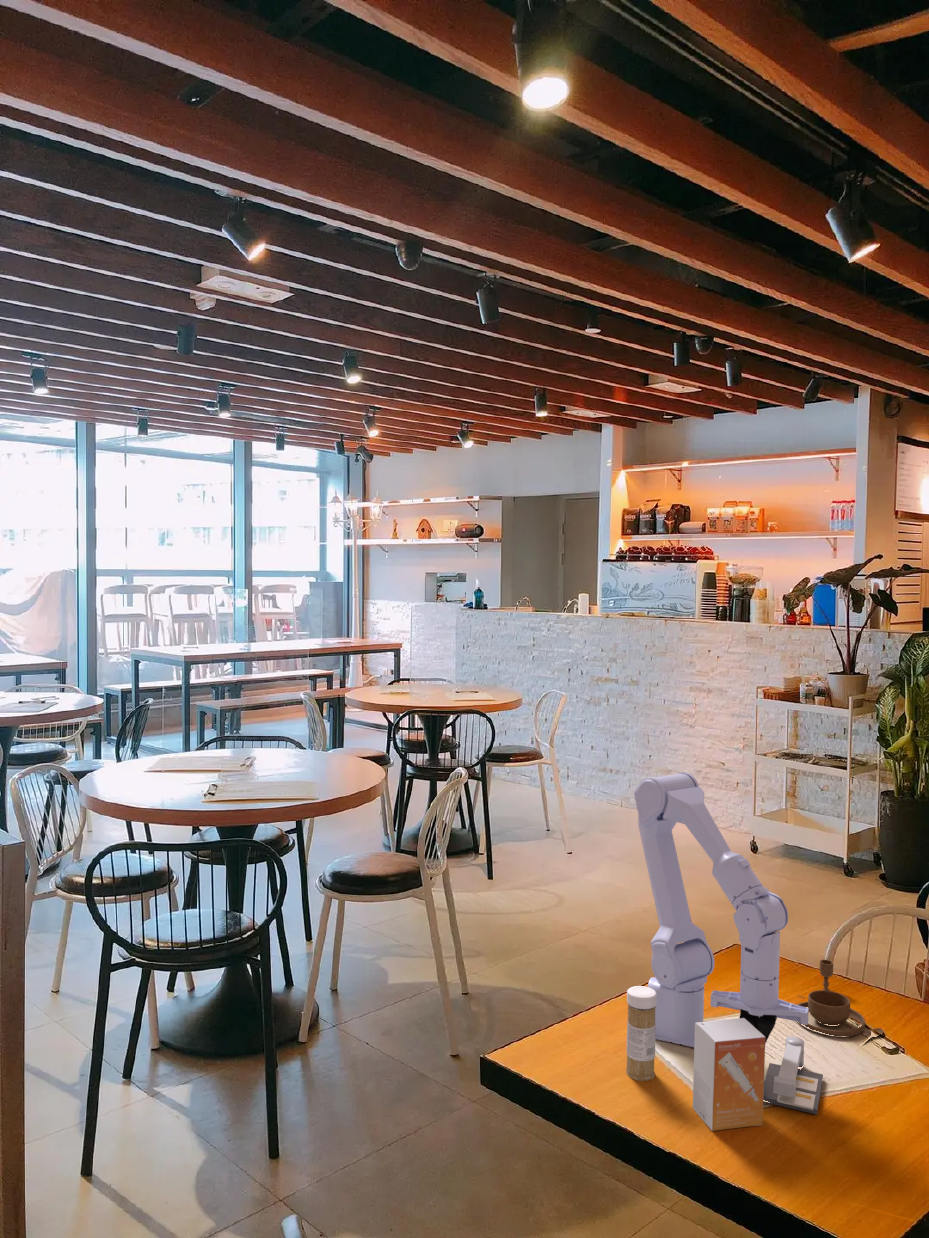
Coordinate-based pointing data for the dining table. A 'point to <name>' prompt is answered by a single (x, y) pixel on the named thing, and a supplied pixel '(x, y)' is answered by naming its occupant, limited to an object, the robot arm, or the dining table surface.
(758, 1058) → the small box
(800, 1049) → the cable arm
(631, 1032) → the sprinkles bottle
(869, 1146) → the dining table surface
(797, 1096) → the grey flat block
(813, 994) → the place setting
